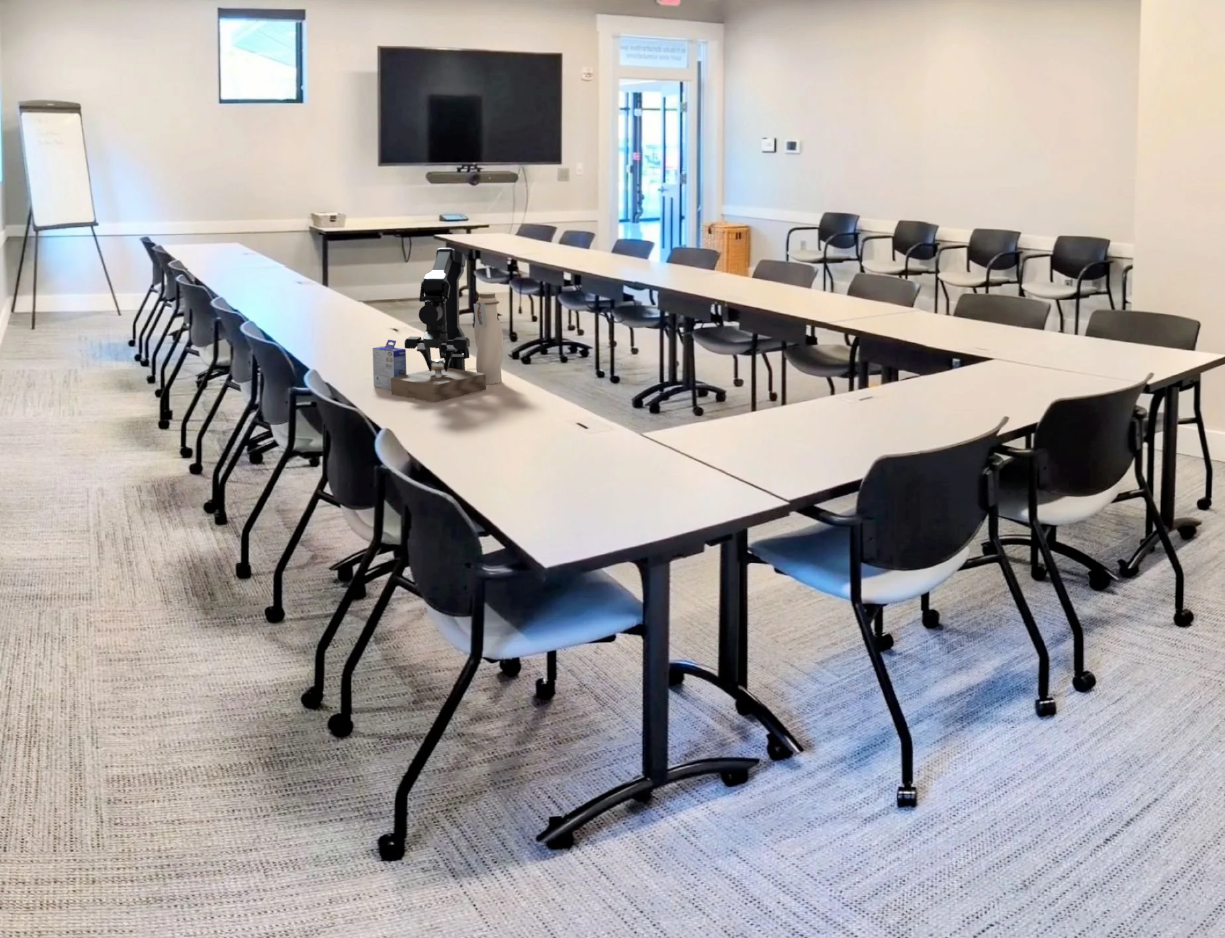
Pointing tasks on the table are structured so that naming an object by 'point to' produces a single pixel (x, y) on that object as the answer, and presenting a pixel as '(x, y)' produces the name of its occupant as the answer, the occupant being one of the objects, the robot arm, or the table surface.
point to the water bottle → (488, 337)
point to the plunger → (438, 367)
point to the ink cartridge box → (388, 364)
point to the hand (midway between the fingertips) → (438, 371)
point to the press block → (438, 384)
